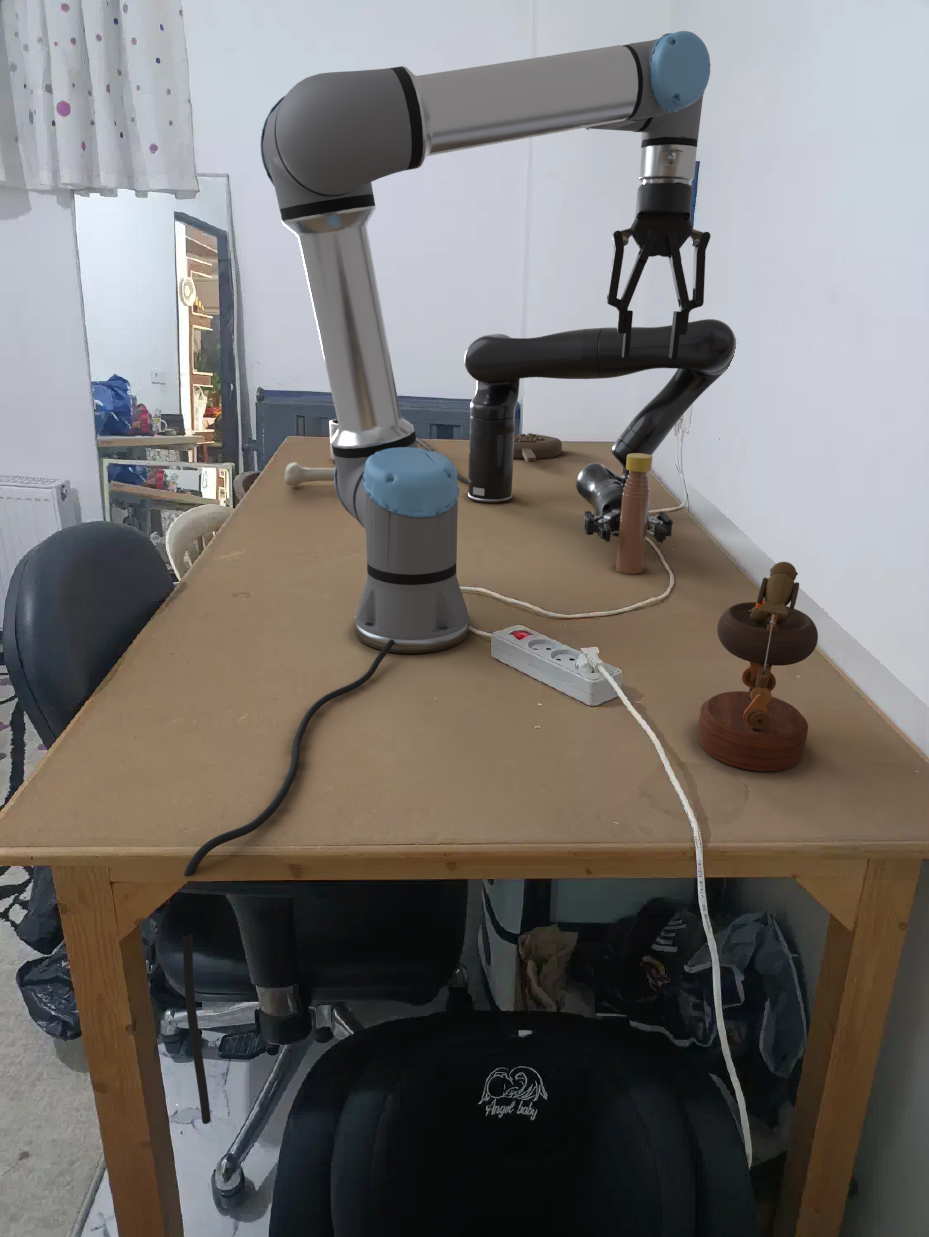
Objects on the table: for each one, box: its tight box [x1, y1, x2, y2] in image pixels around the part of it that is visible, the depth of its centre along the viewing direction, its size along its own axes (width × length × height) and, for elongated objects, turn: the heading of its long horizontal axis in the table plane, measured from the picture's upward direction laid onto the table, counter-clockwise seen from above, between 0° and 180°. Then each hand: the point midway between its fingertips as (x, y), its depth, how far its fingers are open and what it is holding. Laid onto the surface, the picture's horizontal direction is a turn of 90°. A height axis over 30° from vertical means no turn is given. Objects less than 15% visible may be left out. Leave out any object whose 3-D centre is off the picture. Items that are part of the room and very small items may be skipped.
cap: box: [626, 453, 653, 473], centre depth 131 cm, size 4×4×2 cm
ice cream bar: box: [513, 432, 563, 463], centre depth 220 cm, size 21×28×4 cm
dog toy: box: [283, 461, 335, 487], centre depth 188 cm, size 20×6×5 cm, turn 99°
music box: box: [696, 561, 819, 772], centre depth 84 cm, size 15×11×20 cm
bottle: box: [615, 471, 651, 575], centre depth 135 cm, size 4×4×18 cm
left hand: (649, 357), depth 125 cm, fingers open, 6 cm apart
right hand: (635, 536), depth 134 cm, fingers open, 8 cm apart
